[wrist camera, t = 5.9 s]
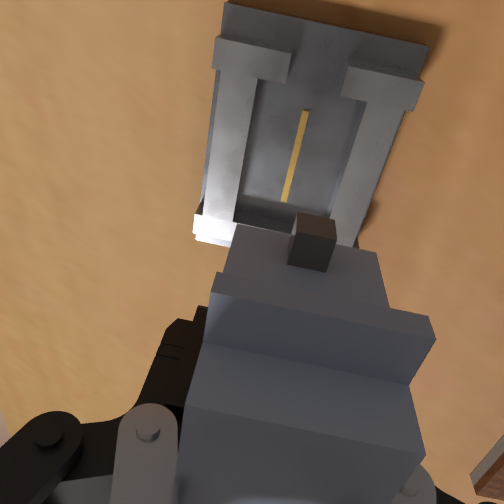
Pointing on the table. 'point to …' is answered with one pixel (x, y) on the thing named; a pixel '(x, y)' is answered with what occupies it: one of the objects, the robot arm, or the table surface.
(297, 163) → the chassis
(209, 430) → the servo
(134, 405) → the robot arm
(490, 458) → the white alcove tower
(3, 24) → the table surface
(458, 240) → the table surface
